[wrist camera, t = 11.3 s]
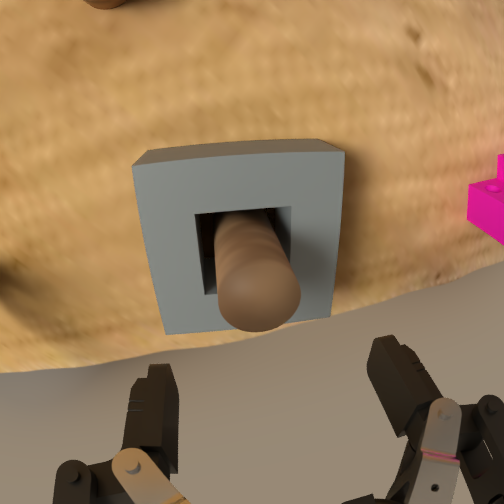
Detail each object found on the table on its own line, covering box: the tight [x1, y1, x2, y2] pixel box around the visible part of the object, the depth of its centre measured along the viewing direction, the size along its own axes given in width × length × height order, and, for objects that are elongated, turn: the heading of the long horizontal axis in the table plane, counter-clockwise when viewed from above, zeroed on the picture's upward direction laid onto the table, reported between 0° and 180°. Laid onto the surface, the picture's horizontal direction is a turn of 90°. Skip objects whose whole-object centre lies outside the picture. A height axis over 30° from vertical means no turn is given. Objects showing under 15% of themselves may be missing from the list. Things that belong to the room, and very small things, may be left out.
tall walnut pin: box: [213, 208, 301, 332], centre depth 20 cm, size 4×4×10 cm
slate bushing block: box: [132, 139, 345, 335], centre depth 22 cm, size 12×12×5 cm
